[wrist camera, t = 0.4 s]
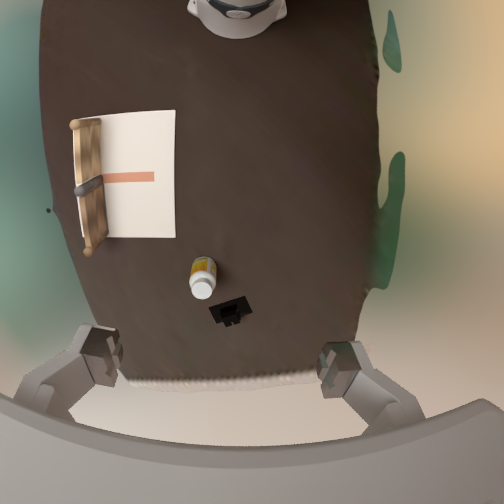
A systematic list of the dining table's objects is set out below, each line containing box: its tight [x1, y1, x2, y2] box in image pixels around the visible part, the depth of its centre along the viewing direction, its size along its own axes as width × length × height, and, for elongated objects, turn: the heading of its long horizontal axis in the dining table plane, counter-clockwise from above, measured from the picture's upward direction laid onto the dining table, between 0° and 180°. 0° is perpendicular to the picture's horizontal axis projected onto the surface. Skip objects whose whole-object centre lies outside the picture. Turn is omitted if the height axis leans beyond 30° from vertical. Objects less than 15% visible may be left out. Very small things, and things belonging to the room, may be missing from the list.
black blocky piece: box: [209, 296, 252, 327], centre depth 67 cm, size 12×7×5 cm, turn 108°
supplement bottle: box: [190, 257, 216, 299], centre depth 58 cm, size 5×5×10 cm
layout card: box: [73, 110, 176, 238], centre depth 51 cm, size 26×22×1 cm
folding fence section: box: [70, 118, 101, 184], centre depth 43 cm, size 11×2×10 cm, turn 176°
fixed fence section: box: [74, 175, 109, 257], centre depth 49 cm, size 14×2×10 cm, turn 176°
